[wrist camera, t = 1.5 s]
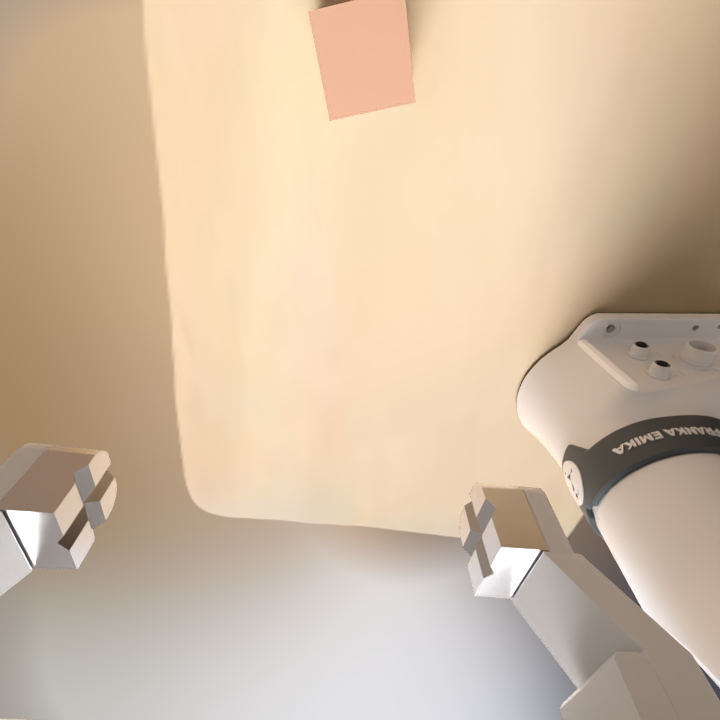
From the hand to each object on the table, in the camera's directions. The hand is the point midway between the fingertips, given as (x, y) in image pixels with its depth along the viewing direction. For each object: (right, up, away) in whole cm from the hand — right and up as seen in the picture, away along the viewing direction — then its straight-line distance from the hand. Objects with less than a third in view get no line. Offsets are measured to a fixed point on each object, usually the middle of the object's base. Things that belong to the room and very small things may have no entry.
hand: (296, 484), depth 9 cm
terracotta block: (+2, +23, +19) cm, 30 cm away
